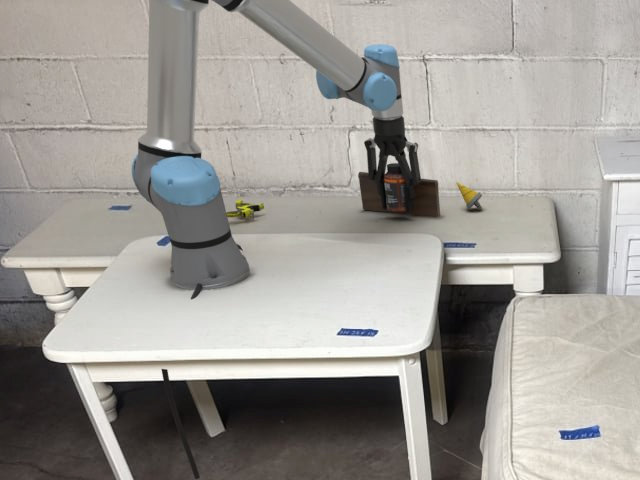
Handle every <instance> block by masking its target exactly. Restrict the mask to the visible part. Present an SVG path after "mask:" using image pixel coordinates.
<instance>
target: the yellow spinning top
mask: <svg viewBox="0 0 640 480" xmlns="http://www.w3.org/2000/svg"><path fill="white" fill-rule="evenodd" d="M456 185H457V187H458V190H459V191H460V194H461V196H462V198H463V200H464V203H465V207H466V209H468V210H470V209H471V208H472V207H473V206H475V207H476V208H477V209H480V210H483V206H482V205H481V203H480V201H479V200H481V198H482V196H483V194H482V193H481V192H480V191H479V192H477V191H475V190H473V189H472V188H469V187H467V186H466V185H464V184H462V183H459V182H456Z"/></svg>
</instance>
